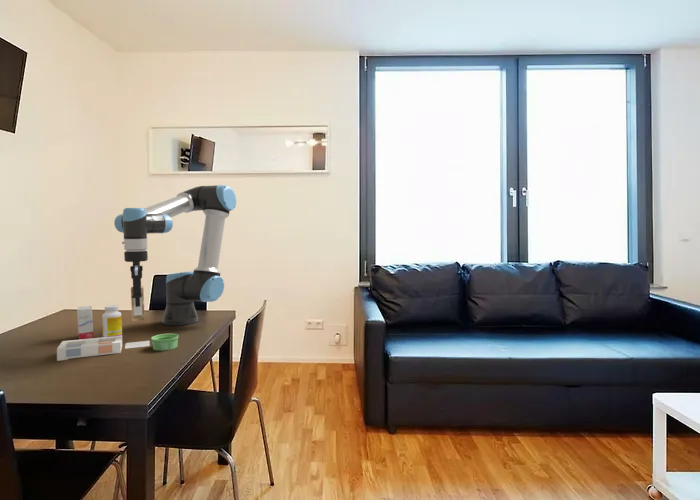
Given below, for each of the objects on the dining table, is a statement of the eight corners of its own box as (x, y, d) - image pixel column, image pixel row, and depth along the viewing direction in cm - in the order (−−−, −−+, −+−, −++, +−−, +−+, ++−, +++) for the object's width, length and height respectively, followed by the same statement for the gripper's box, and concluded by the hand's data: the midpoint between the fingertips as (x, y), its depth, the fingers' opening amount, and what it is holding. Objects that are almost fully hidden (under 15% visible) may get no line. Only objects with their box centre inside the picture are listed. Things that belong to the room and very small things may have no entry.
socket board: (122, 346, 150) (122, 334, 150) (120, 354, 141) (120, 341, 141) (62, 352, 142) (62, 340, 142) (57, 361, 133) (56, 347, 133)
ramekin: (151, 346, 151) (151, 334, 151) (178, 344, 154) (178, 332, 154) (150, 353, 142) (150, 340, 142) (178, 350, 146) (178, 338, 146)
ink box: (93, 338, 160) (92, 308, 160) (77, 340, 158) (77, 310, 157) (92, 334, 168) (92, 305, 167) (77, 335, 165) (77, 306, 164)
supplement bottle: (126, 337, 163) (125, 305, 162) (111, 341, 157) (110, 308, 156) (113, 335, 165) (112, 304, 165) (98, 339, 159) (97, 306, 158)
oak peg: (144, 317, 154) (143, 286, 154) (144, 320, 151) (143, 287, 150) (132, 318, 153) (131, 286, 152) (132, 321, 149) (130, 288, 148)
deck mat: (149, 341, 157) (149, 340, 157) (149, 347, 150) (149, 345, 150) (125, 344, 153) (125, 343, 153) (124, 349, 146) (124, 348, 146)
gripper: (125, 249, 156) (127, 310, 158) (122, 252, 141) (125, 319, 142) (147, 248, 159) (149, 308, 161) (147, 251, 144) (149, 317, 146)
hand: (138, 313), depth 152 cm, fingers closed on oak peg, 4 cm apart
